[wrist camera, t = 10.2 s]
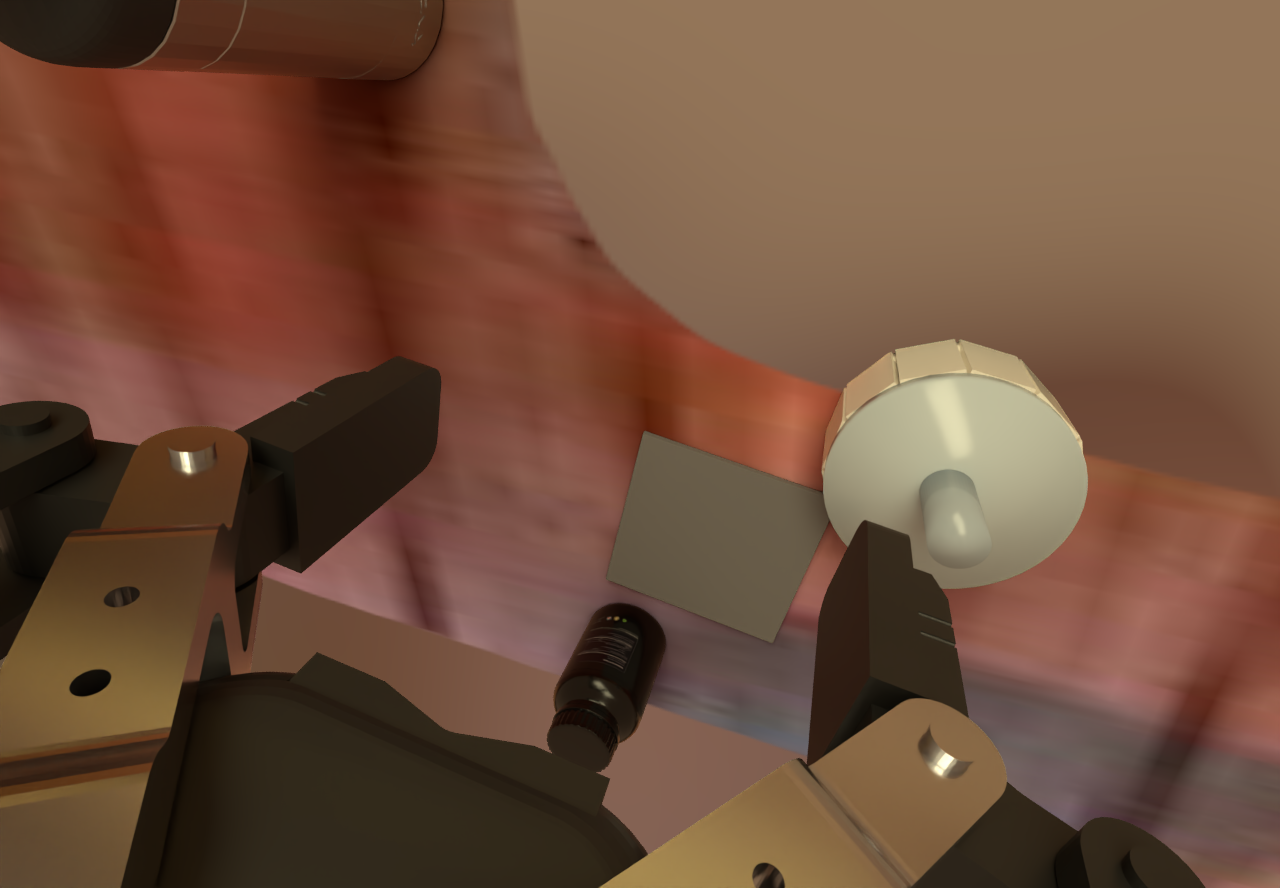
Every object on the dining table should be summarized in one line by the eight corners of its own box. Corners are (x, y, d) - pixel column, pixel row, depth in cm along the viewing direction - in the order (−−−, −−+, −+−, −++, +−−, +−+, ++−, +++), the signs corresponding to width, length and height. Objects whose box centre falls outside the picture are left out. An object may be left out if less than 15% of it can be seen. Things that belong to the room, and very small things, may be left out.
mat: (607, 576, 53) (605, 579, 53) (644, 430, 46) (643, 433, 46) (773, 639, 51) (772, 643, 51) (838, 497, 44) (838, 501, 44)
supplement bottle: (671, 667, 56) (629, 793, 46) (596, 656, 58) (540, 775, 48) (664, 604, 53) (618, 723, 43) (586, 595, 55) (523, 707, 45)
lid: (793, 532, 41) (783, 594, 36) (875, 340, 34) (878, 382, 29) (1006, 608, 39) (1028, 684, 34) (1136, 420, 32) (1189, 480, 27)
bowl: (800, 491, 45) (793, 532, 41) (875, 313, 38) (877, 340, 34) (992, 558, 43) (1006, 608, 39) (1106, 383, 36) (1138, 420, 32)
